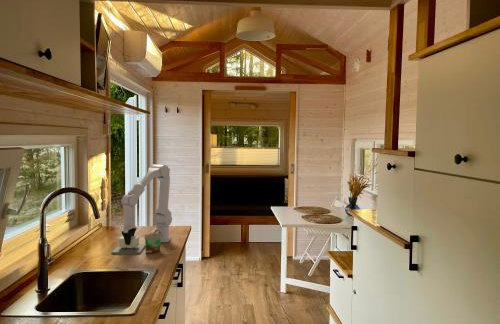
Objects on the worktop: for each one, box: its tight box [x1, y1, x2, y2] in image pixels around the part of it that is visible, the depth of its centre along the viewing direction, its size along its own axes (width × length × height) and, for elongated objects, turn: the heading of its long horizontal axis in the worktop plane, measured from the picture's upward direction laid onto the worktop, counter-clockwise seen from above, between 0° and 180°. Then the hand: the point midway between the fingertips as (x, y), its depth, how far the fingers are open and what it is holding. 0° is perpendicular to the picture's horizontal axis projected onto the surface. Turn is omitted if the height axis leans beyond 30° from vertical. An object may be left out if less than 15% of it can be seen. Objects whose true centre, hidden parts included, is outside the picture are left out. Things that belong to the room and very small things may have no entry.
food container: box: [144, 229, 162, 255], centre depth 192 cm, size 12×6×10 cm, turn 168°
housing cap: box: [118, 235, 140, 247], centre depth 193 cm, size 5×9×4 cm, turn 94°
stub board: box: [111, 244, 146, 255], centre depth 193 cm, size 14×14×3 cm
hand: (129, 243), depth 193 cm, fingers closed on housing cap, 5 cm apart
